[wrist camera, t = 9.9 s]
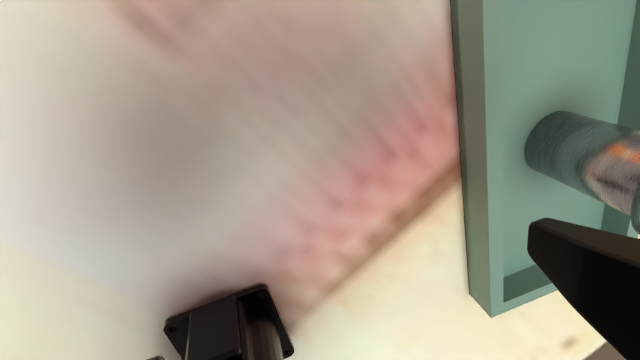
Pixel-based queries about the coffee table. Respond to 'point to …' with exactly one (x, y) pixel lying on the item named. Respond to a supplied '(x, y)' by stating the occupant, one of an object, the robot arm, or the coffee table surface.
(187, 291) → the coffee table surface
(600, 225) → the tray
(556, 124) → the grey flanged cylinder
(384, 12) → the coffee table surface
